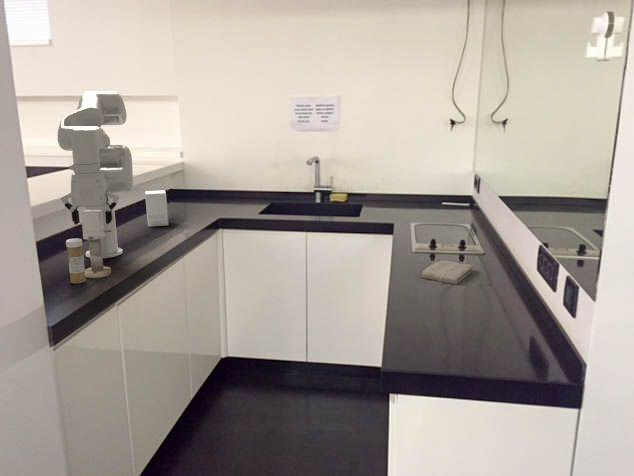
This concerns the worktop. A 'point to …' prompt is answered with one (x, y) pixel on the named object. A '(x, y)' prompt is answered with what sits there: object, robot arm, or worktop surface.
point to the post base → (99, 274)
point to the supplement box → (156, 208)
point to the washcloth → (447, 271)
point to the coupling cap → (93, 225)
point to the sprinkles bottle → (76, 260)
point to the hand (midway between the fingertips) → (92, 223)
